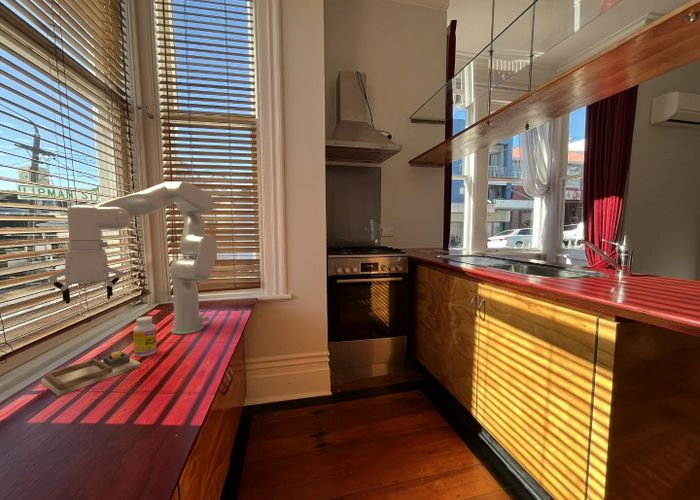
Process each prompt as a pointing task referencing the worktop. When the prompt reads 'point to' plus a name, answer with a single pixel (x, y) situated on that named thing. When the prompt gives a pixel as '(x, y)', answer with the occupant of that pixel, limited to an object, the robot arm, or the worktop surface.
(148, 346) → the supplement bottle
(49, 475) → the worktop surface
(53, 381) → the beige tray
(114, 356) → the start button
